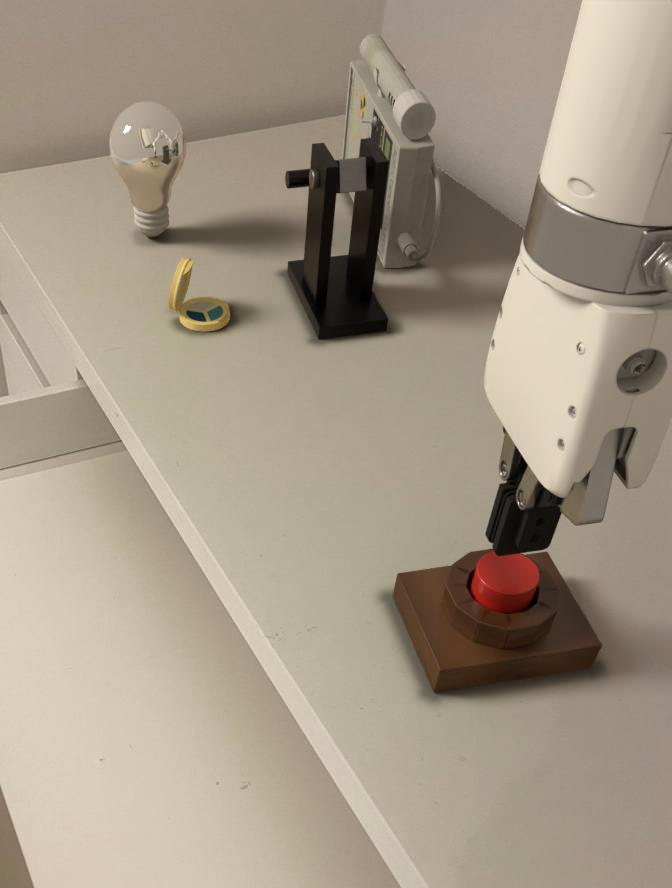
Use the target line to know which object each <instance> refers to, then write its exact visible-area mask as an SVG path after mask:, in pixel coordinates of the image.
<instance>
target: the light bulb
mask: <svg viewBox="0 0 672 888" xmlns="http://www.w3.org/2000/svg"><path fill="white" fill-rule="evenodd" d="M108 138H109V139H108V150H109V156H110V160H111V162H112V165H113V167H114V170H115V171H116V172H117V174H118V176H119V177H120V178H121V180H122V181H123V183H124V184H125V186H126V188H127V191H128V196H129V199H130V203H131V204H132V205H133V218H134V225H135V227H136V229H137V230H138V231H139V232H140V233H141V234H142V235H143V236H145V237H146V238H148V239H157V238H158V237H159V236H160V235H161V234H162V233H164V232H165V231H166V229H167V228H168V227H169V225H170V213H169V210H170V209H169V206H168V204H169V203H170V201H171V198H172V197H171V196H172V189H173V186H174V184H175V181H176V179H177V177H178V175H179V173H180V171H181V170H182V167H183V165H184V163H185V159H186V153H187V139H186V135H185V131H184V127H183V126H182V123H181V121H180V120H179V118H178V117H177V116H176V115H175V113H174V112H173V111H172V110H170V109H169V108H168V107H166V106H165V105H163V104H161V103H158V102H156V101H151V100H142V101H138V102H137V101H136V102H135V103H132V104H131V105H129V106H127V107H126V108H124V110H122V111H121V112H120V113H119V114H118V116H117V118H116V119H115V120H114V122H113V124H112V126H111V129H110V134H109V137H108Z"/></svg>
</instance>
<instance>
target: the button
mask: <svg viewBox="0 0 672 888" xmlns="http://www.w3.org/2000/svg"><path fill="white" fill-rule="evenodd" d="M522 554H523V553H521V554H512V555H505V556H497V555H496V553H495V552H494V551H493V552H489V553H487V554H485V555H484V556H483V557H481V559H480V560H479V561H478V563H477V566H476V570H475V573H474V577H473V580H472V584H471V591H472V595H473V597H474V598H475V600H476V601H477V602H478V603H479V604H481V605H482V606H484V607H485V608H486V609H488V610H491V611H495V612H499V613H504V614H513V613H517V612H520V611H522V610H524V609H526V608H527V607H528V606H529V605H530V603H531V602H532V599H533V596H534V593H535V591H536V588H537V585H538V582H539V578H540V575H539V571H538V569H537V567H536V565H535V564H534V563H533V562H532V561H531V560H530V559H529V558H527V557H525V556H524V555H525V554H524V555H522Z"/></svg>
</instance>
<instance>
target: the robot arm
mask: <svg viewBox="0 0 672 888" xmlns="http://www.w3.org/2000/svg"><path fill="white" fill-rule="evenodd" d="M574 27H575V28H574V32H573V36H572V40H571V44H570V48H569V52H568V57H567V60H566V63H565V68H564V72H563V75H562V80H561V84H560V88H559V91H558V97H557V100H556V104H555V108H554V112H553V116H552V118H551V119H552V120H551V123H550V127H549V132H548V136H547V140H546V143H545V148H544V152H543V156H542V159H541V163H540V167H539V168H540V169H539V171H538V176H537V179H536V183H535V187H534V191H533V195H532V199H531V202H530V207H529V211H528V215H527V219H526V223H525V226H524V230H523V235H522V239H521V242H520V246H519V254H518V255H517V258H516V261H515V263H514V267H513V269H512V272H511V274H510V276H509V277H510V278H509V280H508V283H507V286H506V290H505V293H504V295H503V299H502V302H501V305H500V309H499V311H498V315H497V318H496V321H495V325H494V329H493V333H492V335H491V340H490V345H489V348H488V354H487V358H486V363H485V368H484V376H483V387H484V392H485V394H486V395H485V396H486V398H487V401H488V402H489V404H490V406H491V408H492V409H493V411H494V413H495V414H496V417H497V418H498V420H499V421H500V423H501V424H502V431H503V434H504V436H503V441H502V447H501V451H500V457H499V463H498V475H499V477H500V479H501V481H503V482H502V483H499V484H498V488H497V491H496V495H495V499H494V501H493V506H492V509H491V511H490V516H489V519H488V521H487V525H486V529H485V533H484V534H485V537H486V539H487V541H488V542H489V543H490V544H492V548H491V549H493V550H494V552H495V553H496V555H497V556H505V555H512V554H519V553H521V554H527V553H534V552H539V551H540V552H541V551H544V550H546V549H548V548H549V547H550V546H551V543H552V541H553V539H554V536H555V533H556V529H557V527H558V524H559V522H560V519H561V516H562V515H563V516H564V517H565V518H566V519H567V520H568V521H569V522H570V523H571V524H573V525H574V526H575V527H577V526H586V525H592V524H598V523H602V522H603V521H604V518H605V515H606V510H607V506H608V501H609V497H610V491H611V487H612V481H613V477H614V474H615V475H616V476H617V477H618V479H619V481H620V482H621V483H622V485H623V486H624V487H625V488H626V490H630V489H639V488H641V487H642V486H643V485H644V484H645V483H646V481H647V479H648V478H649V476H650V474H651V472H652V470H653V467H654V465H655V463H656V460H657V458H658V457H659V456H658V455H659V453H660V451H661V448H662V445H663V443H664V441H665V437H666V435H667V432H668V429H669V426H670V424H671V421H672V0H581V3H580V8H579V12H578V16H577V20H576V24H575V26H574Z"/></svg>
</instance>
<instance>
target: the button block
mask: <svg viewBox="0 0 672 888" xmlns="http://www.w3.org/2000/svg"><path fill="white" fill-rule="evenodd" d="M493 551H494V550H493V548H487V549H480V550H475V551H469V552H467V553H465V555H463V556H462V557H461V558H459V559H457V560H456V561H455V562H454V563H452V564H451V565H444V566H438V567H437V566H436V567H430V568H423V569H416V570H412V571H410V570H409V571H403V572H397V574H396V577H395V583H394V588H393V592H392V599H393V601H394V603H395V605H396V608H397V610H398V613H399V615H400V617H401V620H402V623H403V625H404V626H405V630H406V631H407V633H408V634H407V635H408V636H409V638H410V641H411V643H412V645H413V648H414V649H415V652H416V655H417V657H418V659H419V662H420V664H421V666H422V669H423V671H424V673H425V675H426V678H427V680H428V682H429V685H430V687H431V690H432V692H433V693H434V694H436V693H441V692H448V691H456V690H460V689H467V688H474V687H478V686H480V687H481V686H485V685H492V684H498V683H503V682H511V681H517V680H523V679H528V678H530V679H531V678H535V677H542V676H547V675H556V674H559V673H560V674H561V673H566V672H572V671H579V670H584V669H585V670H586V669H591V668H593V666H594V664H595V662H596V660H597V657H598V655H599V653H600V651H601V649H602V647H603V643H602V641H601V640H600V638H599V636H598V635H597V633H596V631H595V630H594V628H593V626H592V624H591V622H590V621H589V620H588V618H587V615H586V614H585V613H584V611H583V609H582V608H581V606H580V604H579V602H578V601H577V599H576V597H575V595H574V594H573V593H572V591H571V589H570V587H569V585H568V584H567V582H566V581H565V579H564V578H563V575H562V574H561V572H560V571H559V569H558V567H557V566H556V564H555V562H554V560H553V558H552V557H551V555H550V553H549V552H548V551H540V552H539V551H538V552H531V553H519V554H522V555H524V556H525V557H527V558H529V559H530V560H531V561H532V562H533V563H534V564H535V565H536V567H537V569H538V571H539V575H540V578H539V582H538V585H537V588H536V591H535V593H534V596H533V599H532V602H531V603H530V605H529V606H528V607H527V608H526V609H524V610H522V611H520V612H517V613H513V614H504V613H499V612H495V611H491V610H488V609H486V608H485V607H484V606H482V605H481V604H479V603H478V602H477V601H476V600H475V598H474V597H473V595H472V591H471V584H472V580H473V577H474V573H475V570H476V566H477V563H478V561H479V560H480V559H481V557H483V556H484V555H485V554H487V553H489V552H493Z"/></svg>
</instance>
